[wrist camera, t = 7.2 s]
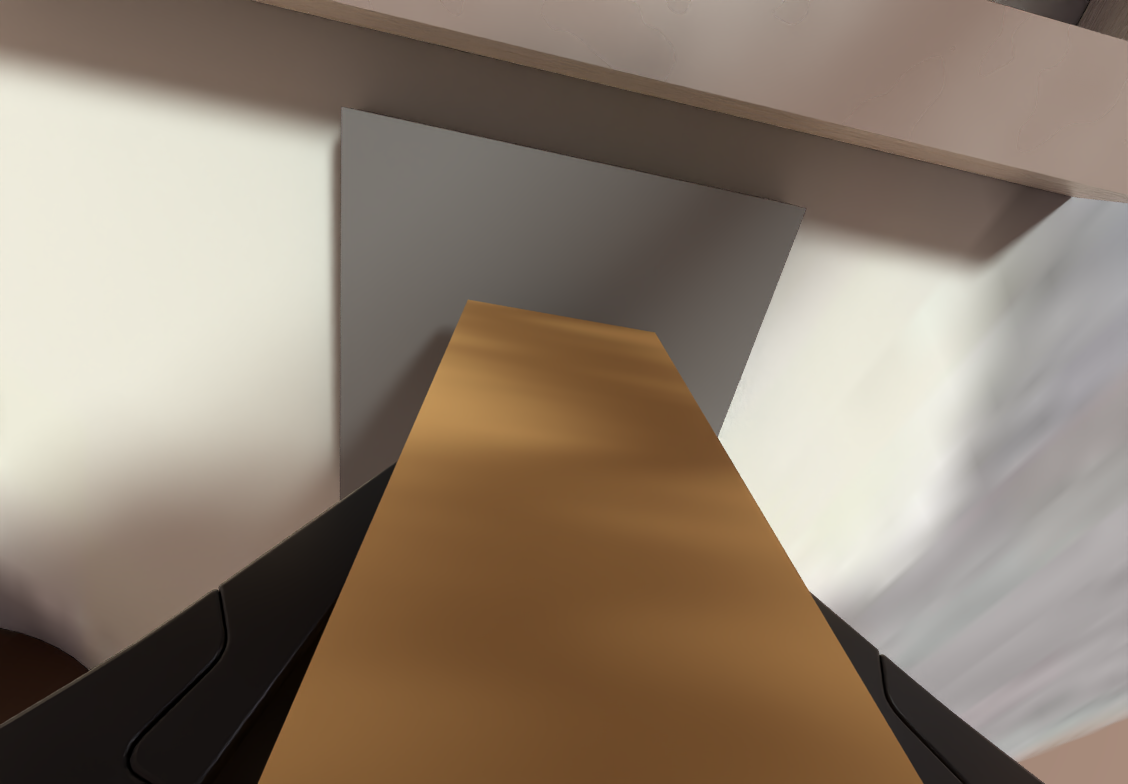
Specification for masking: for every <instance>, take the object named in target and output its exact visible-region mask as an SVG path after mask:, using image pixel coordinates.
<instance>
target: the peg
mask: <svg viewBox="0 0 1128 784" xmlns="http://www.w3.org/2000/svg"><path fill="white" fill-rule="evenodd" d="M258 784H923V782H922V781H921V779H920V777H919V776H918V774H917V772H916V770H915V769H914V767H913V765H912V764H911V762H910V760H909V759H908V757H907V755H906V754H905V752H904V750H903V749H902V747H901V745H900V744H899V742H898V740H897V739H896V737H895V735H894V733H893V732H892V730H891V728H890V727H889V725H888V723H887V722H886V720H885V718H884V717H883V715H882V713H881V712H880V710H879V708H878V707H877V705H876V703H875V702H874V700H873V698H872V696H871V695H870V693H869V691H868V690H867V688H866V686H865V685H864V683H863V681H862V680H861V678H860V676H859V675H858V673H857V671H856V670H855V668H854V666H853V665H852V663H851V661H850V660H849V658H848V656H847V654H846V653H845V651H844V649H843V648H842V646H841V644H840V643H839V641H838V639H837V638H836V636H835V634H834V633H833V631H832V629H831V628H830V626H829V624H828V623H827V621H826V619H825V617H824V616H823V614H822V612H821V611H820V609H819V607H818V606H817V604H816V602H815V601H814V599H813V597H812V596H811V594H810V592H809V591H808V589H807V587H806V586H805V584H804V582H803V580H802V579H801V577H800V575H799V574H798V572H797V570H796V569H795V567H794V565H793V564H792V562H791V560H790V559H789V557H788V555H787V554H786V552H785V550H784V549H783V547H782V545H781V544H780V542H779V540H778V538H777V537H776V535H775V533H774V532H773V530H772V528H771V527H770V525H769V523H768V522H767V520H766V518H765V517H764V515H763V513H762V512H761V510H760V508H759V507H758V505H757V503H756V501H755V500H754V498H753V496H752V495H751V493H750V491H749V490H748V488H747V486H746V485H745V483H744V481H743V480H742V478H741V476H740V475H739V473H738V471H737V470H736V468H735V466H734V464H733V463H732V461H731V459H730V458H729V456H728V454H727V453H726V451H725V449H724V448H723V446H722V444H721V443H720V441H719V439H718V438H717V436H716V434H715V433H714V431H713V429H712V427H711V426H710V424H709V422H708V421H707V419H706V417H705V416H704V414H703V412H702V411H701V409H700V407H699V406H698V404H697V402H696V401H695V399H694V397H693V396H692V394H691V392H690V391H689V389H688V387H687V385H686V384H685V382H684V380H683V379H682V377H681V375H680V374H679V372H678V370H677V369H676V367H675V365H674V364H673V362H672V360H671V359H670V357H669V355H668V354H667V352H666V350H665V348H664V347H663V345H662V343H661V342H660V340H659V338H658V337H657V335H656V333H655V332H649V331H644V330H638V329H632V328H627V327H621V326H615V325H610V324H604V323H598V322H593V321H587V320H581V319H575V318H570V317H564V316H558V315H553V314H547V313H541V312H536V311H530V310H524V309H519V308H513V307H507V306H502V305H496V304H490V303H485V302H479V301H473V300H467V303H466V305H465V307H464V310H463V312H462V314H461V317H460V319H459V321H458V324H457V326H456V328H455V330H454V333H453V335H452V337H451V340H450V342H449V344H448V347H447V349H446V351H445V353H444V356H443V358H442V360H441V363H440V365H439V367H438V370H437V372H436V374H435V377H434V379H433V381H432V383H431V386H430V388H429V390H428V393H427V395H426V397H425V400H424V402H423V404H422V406H421V409H420V411H419V413H418V416H417V418H416V420H415V423H414V425H413V427H412V430H411V432H410V434H409V436H408V439H407V441H406V443H405V446H404V448H403V450H402V453H401V455H400V457H399V459H398V462H397V464H396V466H395V469H394V471H393V473H392V476H391V478H390V480H389V483H388V485H387V487H386V489H385V492H384V494H383V496H382V499H381V501H380V503H379V506H378V508H377V510H376V512H375V515H374V517H373V519H372V522H371V524H370V526H369V529H368V531H367V533H366V536H365V538H364V540H363V542H362V545H361V547H360V549H359V552H358V554H357V556H356V559H355V561H354V563H353V565H352V568H351V570H350V572H349V575H348V577H347V579H346V582H345V584H344V586H343V588H342V591H341V593H340V595H339V598H338V600H337V602H336V605H335V607H334V609H333V612H332V614H331V616H330V618H329V621H328V623H327V625H326V628H325V630H324V632H323V635H322V637H321V639H320V641H319V644H318V646H317V648H316V651H315V653H314V655H313V658H312V660H311V662H310V665H309V667H308V669H307V671H306V674H305V676H304V678H303V681H302V683H301V685H300V688H299V690H298V692H297V694H296V697H295V699H294V701H293V704H292V706H291V708H290V711H289V713H288V715H287V718H286V720H285V722H284V724H283V727H282V729H281V731H280V734H279V736H278V738H277V741H276V743H275V745H274V747H273V750H272V752H271V754H270V757H269V759H268V761H267V764H266V766H265V768H264V771H263V773H262V775H261V777H260V780H259V782H258Z"/></svg>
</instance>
